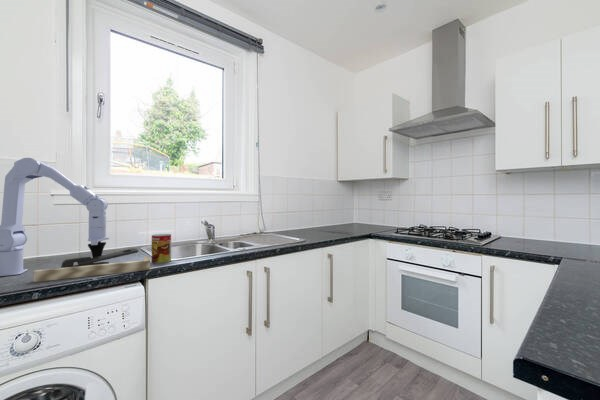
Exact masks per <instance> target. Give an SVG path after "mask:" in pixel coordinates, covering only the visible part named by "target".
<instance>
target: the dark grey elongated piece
mask: <svg viewBox="0 0 600 400" xmlns="http://www.w3.org/2000/svg"><path fill="white" fill-rule="evenodd" d="M137 253H139V249H138V248H135V247H134V248H133V247H132V248H128V249H123V250H120V251H116V252H112V253H107V254H104V255H103V254H102V256H99V257H94V258H93V257H91V256H84V257H83V256H80V257H74V258H66V259H65V260H63V261H62V263H61V267H60V268H66V267H77V266H88V265H99V264H110V262H108V261H107V260H110V259H111V260H112V259H115V258H120V257H125V256H128V255H133V254H137ZM105 260H106V261H105ZM75 263H76V264H75Z"/></svg>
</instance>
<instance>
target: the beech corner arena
mask: <svg viewBox="0 0 600 400" xmlns="http://www.w3.org/2000/svg"><path fill="white" fill-rule="evenodd" d="M150 270H151V254H150V255H144V259H143V260H134V261H121V262H113V263H110V262H109V264H99V265H88V266H77V267H66V268H61V267H58V268H57V267H56V268H45V269H36V270H33V283H38V282H46V281H47V282H48V281H57V280H65V279H74V278H85V277H94V276H102V275H110V274H111V275H113V274H121V273H130V272H131V273H132V272H141V271H150Z"/></svg>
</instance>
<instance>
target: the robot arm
mask: <svg viewBox="0 0 600 400" xmlns="http://www.w3.org/2000/svg"><path fill="white" fill-rule="evenodd" d="M42 177H44V178H45V177H46V178H49V179H51V180H52V181H54V182H55V183H57V184H58V185H60V186H61V187H63V188H64V189H66V190H68V191H69V196H70V197H72V198H73V199H75V200H76V201H77V202H78V203H80V204H82V205H83V206H85V208H86V210H87V211H88V238H87V241H88V242H90V243H88V244H87V247H88V248H89V250H90V252H91V255H92V258H94V257H99V256H103V251H104V249H105V246H106V245H107V242H106V240H110V237H106V236H107V232H106V231H107V216H106V210H107V209H108V202H107V201H106V199H105V198H101V197H100V195H98V194H95V193H94V192H93V191H91V190H90V187H89V186H86V185H85V186H84V185H82V184H78V185H77V184H76V183H75V182H74V181H72V180H71V179H69V178H68V177H67V176H65V175H64V174H63V173H62V172H60V171H59V170H58V169H56V168H55V167H53V166H52V165H50V164H48V163H47V162H45V161H41V160H38V159H34V158H33V157H23V158H20V159H18V160H16V161H14V164H13V166H12V167H11V169H10V170H9V171H8V172H7V174H6V175H5V177H4V186H3V187H4V188H3V198H2V207H1V208H2V210H1V220H0V221H1V222H0V277H4V276H5V277H6V276H17V275H21V274H23V273H25V272H26V271H28V268H24V245H25V244H26V243H27V241H28V236H27V234H26V232H25V231H26V229H25V226H24V224H23V213H24V203H25V202H24V201H25V198H24V197H25V188H26V183H29V182H30V181H32V180H34V179H38V178H42Z"/></svg>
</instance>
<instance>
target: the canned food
mask: <svg viewBox="0 0 600 400" xmlns="http://www.w3.org/2000/svg"><path fill="white" fill-rule="evenodd" d="M171 261H172V234H171V233H156V234H151V263H152V264H163V263H169V262H171Z"/></svg>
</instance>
